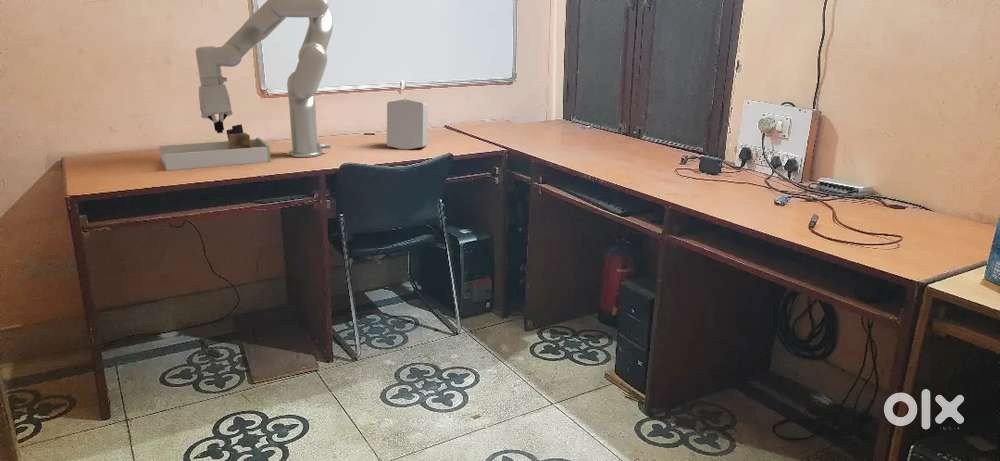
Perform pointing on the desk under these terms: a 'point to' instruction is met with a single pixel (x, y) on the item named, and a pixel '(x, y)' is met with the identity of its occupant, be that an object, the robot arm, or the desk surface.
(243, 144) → the block
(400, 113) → the grey upright faceted block
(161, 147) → the shallow grey tray
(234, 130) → the speaker
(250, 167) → the desk surface
